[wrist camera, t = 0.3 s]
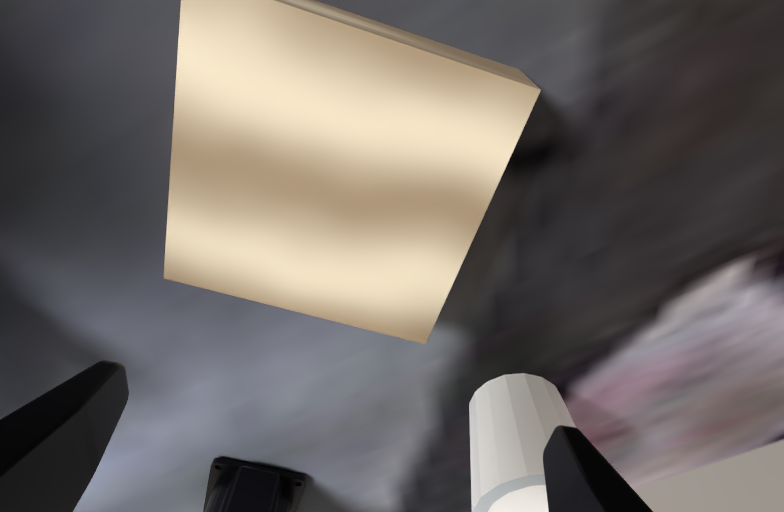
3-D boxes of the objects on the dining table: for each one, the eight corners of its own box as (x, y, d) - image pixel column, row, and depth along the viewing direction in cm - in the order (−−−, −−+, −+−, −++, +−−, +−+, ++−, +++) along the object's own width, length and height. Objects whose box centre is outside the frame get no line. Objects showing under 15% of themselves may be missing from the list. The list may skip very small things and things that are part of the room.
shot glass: (585, 368, 28) (634, 480, 22) (558, 445, 31) (593, 559, 25) (466, 362, 28) (482, 471, 22) (452, 439, 31) (463, 552, 25)
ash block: (423, 293, 26) (425, 344, 22) (197, 233, 24) (163, 278, 21) (517, 68, 20) (541, 89, 16) (225, -32, 18) (182, -31, 15)
